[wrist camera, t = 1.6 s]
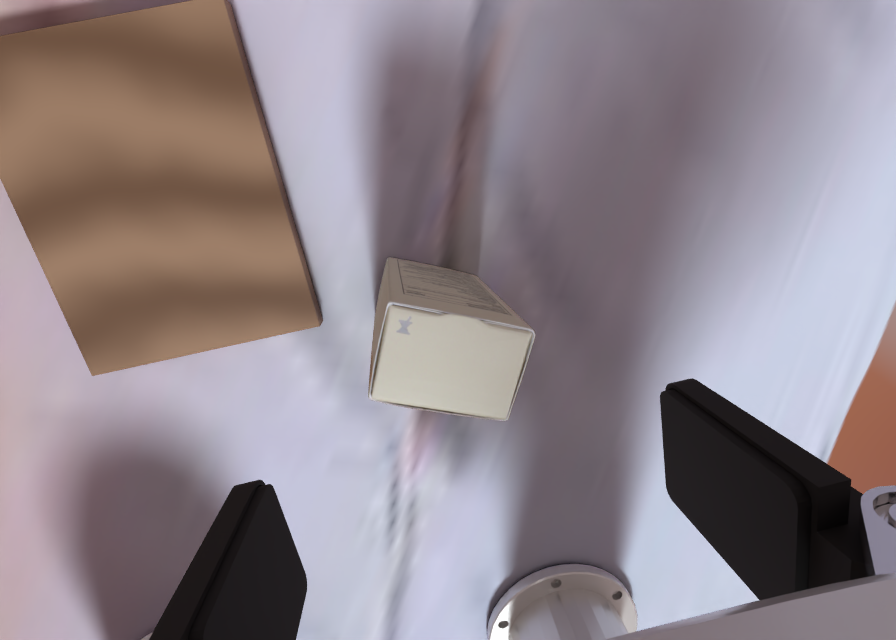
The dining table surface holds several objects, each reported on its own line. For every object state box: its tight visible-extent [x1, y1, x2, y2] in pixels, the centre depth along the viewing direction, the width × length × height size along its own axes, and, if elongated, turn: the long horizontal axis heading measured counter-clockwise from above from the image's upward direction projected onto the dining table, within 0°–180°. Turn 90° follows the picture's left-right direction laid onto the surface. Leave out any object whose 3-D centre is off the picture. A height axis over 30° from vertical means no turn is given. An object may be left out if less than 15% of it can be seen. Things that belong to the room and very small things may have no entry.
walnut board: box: [0, 0, 323, 376], centre depth 26 cm, size 18×14×1 cm
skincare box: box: [368, 257, 536, 421], centre depth 24 cm, size 6×4×12 cm, turn 76°
